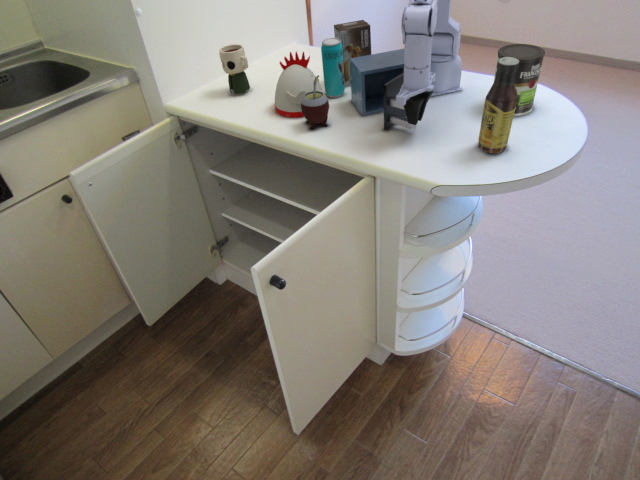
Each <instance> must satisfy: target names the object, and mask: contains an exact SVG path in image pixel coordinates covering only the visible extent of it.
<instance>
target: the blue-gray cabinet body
mask: <svg viewBox="0 0 640 480" xmlns="http://www.w3.org/2000/svg"><path fill="white" fill-rule="evenodd" d="M402 73H404V48H400V49H394V50H389V51H388V50H387V51H384V52H383V51H382V52H379V53H373V54H372V53H371V55H367V56H361V57H356V58H350V77H351V86H350V95H351V102H352V104H353V105H354V106H355V108H356V109H357V110H358V111H359V113H360V115H361V116H362V117H365V116H369V115H374V114H379V113H384V84H386V83H387V82H389V81H391V80H392V79H394V78H396V77H397V76H399V75H400V74H402Z"/></svg>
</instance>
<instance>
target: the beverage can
mask: <svg viewBox="0 0 640 480" xmlns="http://www.w3.org/2000/svg"><path fill="white" fill-rule="evenodd" d="M320 52H321V62H322V73H323V84H324V85H323V86H324V92H325V95H326V97H327V98H331V99H337V98H341V97H343V96H344V93H345V89H346V87H345V81H344V64H343V48H342V44H341V40H340V39H338V38H335V37H328V38H325V39H323V40H321V47H320Z"/></svg>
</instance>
